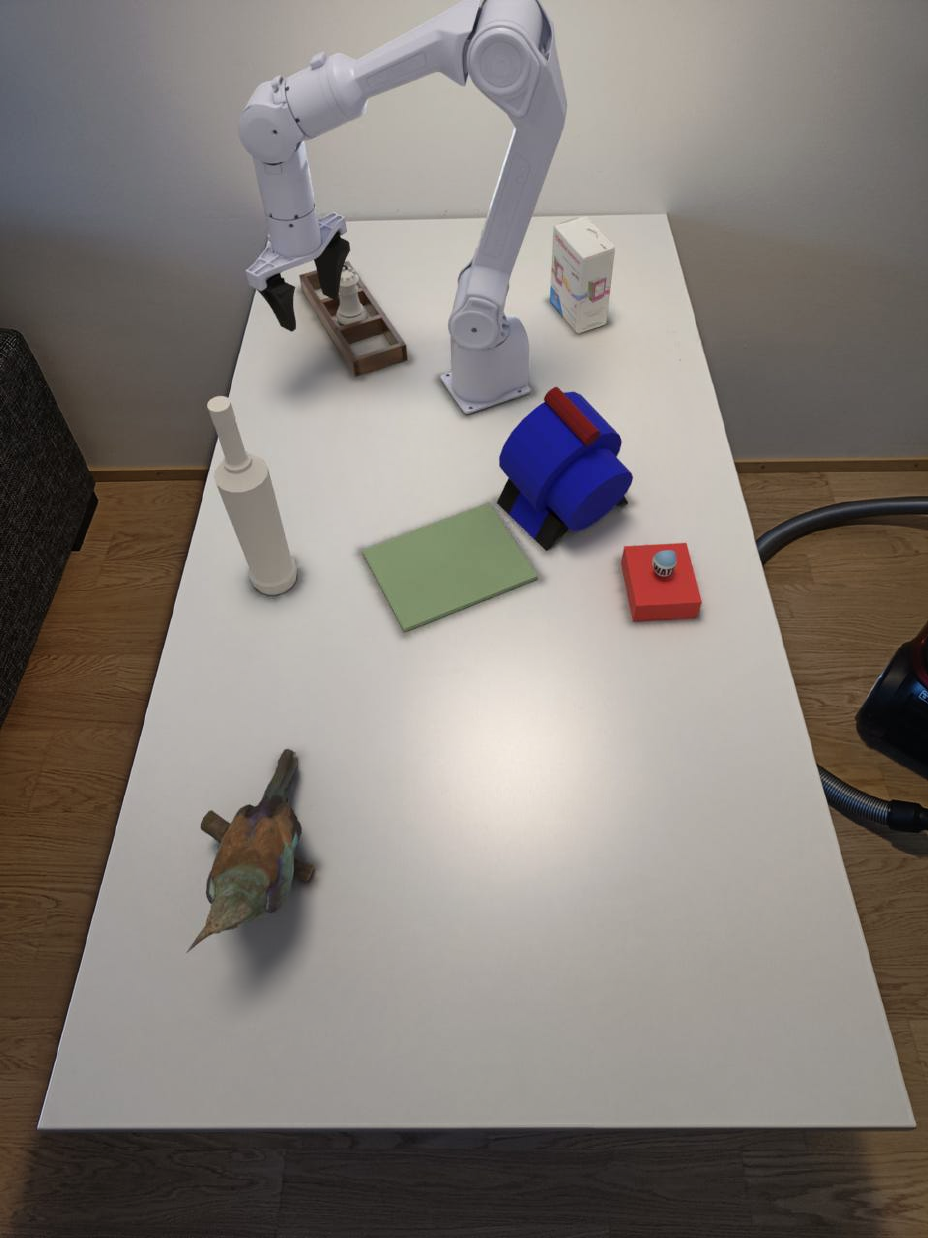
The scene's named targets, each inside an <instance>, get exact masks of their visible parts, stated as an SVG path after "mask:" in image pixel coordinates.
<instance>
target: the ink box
mask: <svg viewBox="0 0 928 1238" xmlns="http://www.w3.org/2000/svg"><path fill="white" fill-rule="evenodd" d="M551 246H552V249H551V268H550V269H551V270H550V288H549V302H550V303H551V304H552V306H553V307H554V308H555V309H556V310H557V312H559V314H560V315H561V316H562V317H563V318H564V320H565V321H566V322H567V324H569V325H570V327H571V328H572V330H574V332H575V333H576V334H581V333H585V332H587V331H590V330H595V329H596V328H600V327H602V326H605V325H607V323H608V322H607V321H608V315H609V314H608V313H609V305H610V296H611V287H612V277H613V269H614V261H615V253H616V252H615V251H616V248H615V245H614V243H612V242H611V241H610V240H609V239H608V238H607V236H606V235H604V234H603V232H602V231H601V230H600V229H599V228H598V226H596V225H595V224H594V223H593V221H592V220H591V219H590V218H589V217H588V216H584V215H581V216H577V217H573V218H570V219H568V220H565V221H561V222H560V223H557V224H554V225H553V231H552V245H551Z"/></svg>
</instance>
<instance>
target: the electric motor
mask: <svg viewBox="0 0 928 1238" xmlns="http://www.w3.org/2000/svg"><path fill="white" fill-rule="evenodd" d="M622 443H623V441H622V438H621V435H620V434H619V433H618V432H617V430H616V429H615V428H614V427H612V426H611V424H610V423H609V422H608V421H607V420H606V419H605V418H604V417H603V416H602V415H601V414H600V413H599V412H598V411H597V410H596V409H595V407H593V406H592V404H590V403H589V401H588V400H587V399H586V398H585V397H584V396H583V394H580V393H579V392H576V391H562V390H561V388H559V387H558V386H553V387H552V388H550V390H548V391H547V392H546V393H545V394H544V396H543V402H542V403H541V404H539V405H538V406H536V407H534V409H533V410H531V411H530V412H529V413H528V414H526V415H525V417H523V418H522V419H521V420H520V422H519V423H518V424H517V425H516V426H515V428H513V430H512V431H511V433H510V434H509V436H508V437H507V439H506V440H505V442H504V444H503V445H502V448H501V451H500V453H499V456H498V466H499V468H500V470H501V471H502V472H503V473H504V474H505V475H506V476H507V480H506V482H505V484H504V486H503V488H502V491H501V492H500V495H499V497H498V499H497V501H496V503H497V505H498V506H500V508H501V509H502V510H504V511H505V513H507V514H508V515H509V516H510V517H511V519H513V520H514V521H515V522H516V523H517V524H518V525H519V526H520V527H521V528H522V529H523V530H524V531H525V532H526V533H527V534H528V535H529V536H530V537H531V538H532V539H534V541H535V542H536V543H537V544H538V545H540V546H541V547H542V548H543V549H544V550H545V551H548V550H549V549H550V548H551V547H552V546H553V545H555V544H556V542H558V540H560V539H561V538H562V537H563V536H564V535H565V534H566V533H567V532H568V531H570V532H575V533H576V532H579V531H583V530H585V529H587V528H589V527H591V526H592V525H594V524H596V523H597V522H599V521H600V520H602V519H603V518H604V517H605V516H606V515H608V514H609V513H610V512H611V511H612V510H613V509H614V508H615V507H617V506H622V505H628V504H629V501H628V500H627V498H626V496H625V495H626V494H627V493H628V491H629V490H630V488H631V486H632V484H633V480H634V475H633V473H632V472H631V471H630V470H629V469H628V468H627V466H626V465H625V464H624V463H623V462H622V461H621V460H620V459H619V458H618V455H619V454H620V452H621V447H622Z"/></svg>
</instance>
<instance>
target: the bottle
mask: <svg viewBox="0 0 928 1238" xmlns="http://www.w3.org/2000/svg"><path fill="white" fill-rule="evenodd" d="M206 407H207V410H208V413H209V415H210V418H211V421H212V424H213V427H214V429H215V431H216V434H217V438H218V440H219V443H220V446H221V449H222V452H223V455H224V457H223V459H222V461H221V462H220V463H219V464H218V465H217V467H215V470H214V474H213V479H214V482H215V485H216V487H217V490H218V492H219V494H220V498H221V501H222V503H223V505H224V507H225V510H226V513H227V515H228V518H229V520H230V523H231V526H232V528H233V530H234V533H235V537H236V539H237V541H238V543H239V546H240V549H241V551H242V553H243V556H244V558H245V561H246V564H247V566H248V572H247V573H248V576H249V579H250V581H251V583H252V585H253V586H254V588H255V589H256V590H258V591H259V592H260V593H262V594H265V595H268V596H277V595H280V594H283V593H286V592H287V591H288V590H290V589H291V588H292V587H293V586H294V584H295V582H296V580H297V574H298V567H297V565H296V562H295V559H294V557H293V556H292V555H291V551H290V548H289V544H288V540H287V536H286V532H285V529H284V525H283V520H282V517H281V512H280V509H279V504H278V501H277V497H276V494H275V489H274V486H273V481H272V478H271V474H270V469H269V466H268V463H267V461H266V460H265V459H263V458H262V457H261V456H259V455H257V454H253V453H249V452H248V451H246V449H245V445H244V443H243V440H242V437H241V433H240V430H239V427H238V423H237V420H236V419H237V418H236V415H235V412H234V408H233V405H232V402H231V399H230V398H229V397H228V396H225V395H217V396H214V397H212V398H210V399H209V401H208V402H207V405H206Z"/></svg>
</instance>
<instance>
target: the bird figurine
mask: <svg viewBox="0 0 928 1238" xmlns="http://www.w3.org/2000/svg"><path fill="white" fill-rule="evenodd" d="M296 756H297V751H293V750H292V749H289V748H284V750H283V751H282V753H281V755H280V757H279V759H278V760H277V766H276V768H275V771H274V773H273V775H272V777H271V779H270V781H269V782H268V784H267V786H266V788H265V790H264V793H263V795H262V797H261V800H260V801H259V802H258V803H257V805H255V806H254V805H253V804H252V803H251V804H250V803H248V804H245V805H243V806H242V807H240V808H239V809H238V810H237V811H236V813H235V814H234V816H233V819H232V821H231V822H229V821H228V820H226V819H225V818H224V817H222V816H220V815H219V814H218V813H216V812H215V811H214V810H212V809H209V810H208V811H207V812H206V813H205V815H204V816H203V817H202V819H201V822H200V830H201V831H202V832H203V833H204V834H207V835H208V836H209V837H211V838H212V839H214V840H215V841H216V842H217V843H219V846H218V848H217V851H216V854H215V856H214V859H213V861H212V866H211V869H210V871H209V873H208V876H207V879H206V885H205V887H206V888H205V897H206V898H207V899H206V900H207V901H208V903H209V904H210V909H209V912H208V914H207V917H206V920H205V926H204V927H203V928H202V929H201V931H200V932H199V933H198V935H197V936H196V938H195V940H194V941H193V942H192V943H191V945H190V946H189V947H188V950H187V951H186V954H188V953H189V952H190V951H191V950H193V949H194V948H195V947H196V946H197V945H198V944H200V943H201V942H202V941H203V940H205V939H207V938H208V937H210V936H212V935H214V934H217V935H218V934H221V933H222V932H224V931H230V930H235V929H238V927H239V926H240V925H242V924H243V923H246V922H250V921H253V920H256V919H257V918H259V917H260V916H262V915H263V914H264V913H267V914H274V913H276V912H277V911H278V910H280V909H281V908H282V906H283V905H284V904H285V902H286V901H287V900H288V898H289V896H290V894H291V887H292V886H291V885H292V881H293V880H294V879H300V880H302V881H309V880H310V878H311V875H312V873H313V871H314V868H315V865H314V864H313V863H309V862H306V861H304V860H302V859H300V858H298V857H295V852H296V848H297V845H298V843H299V841H300V839H301V837H302V831H303V828H302V825H301V823H300V821H299V820H298V817H297V815H296V814H295V810H294V809H293V807H292V803H291V801H289V797H288V796H289V791H290V788H291V785H292V782H293V779H294V774H295V771H296V770H297V767H298V764H297V763H298V761H297V757H296Z"/></svg>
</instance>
